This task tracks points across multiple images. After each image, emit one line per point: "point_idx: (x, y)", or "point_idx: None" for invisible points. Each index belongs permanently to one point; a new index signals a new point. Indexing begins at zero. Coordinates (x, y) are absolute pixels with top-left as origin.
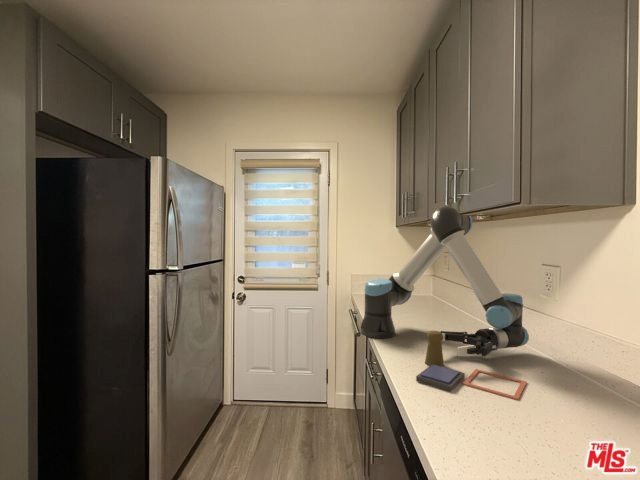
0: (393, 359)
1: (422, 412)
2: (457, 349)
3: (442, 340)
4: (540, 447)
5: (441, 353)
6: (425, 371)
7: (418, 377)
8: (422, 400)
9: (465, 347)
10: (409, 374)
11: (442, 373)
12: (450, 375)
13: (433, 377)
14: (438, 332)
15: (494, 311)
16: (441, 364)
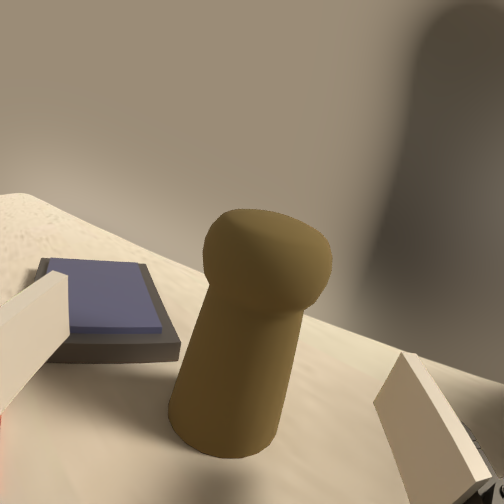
0: (326, 339)
1: (68, 224)
2: (66, 293)
3: (211, 282)
4: None
5: (188, 356)
6: (140, 276)
7: (138, 265)
8: (83, 239)
9: (12, 303)
10: (189, 296)
11: (88, 287)
12: None
13: (98, 261)
14: (247, 212)
15: None
16: (171, 399)
